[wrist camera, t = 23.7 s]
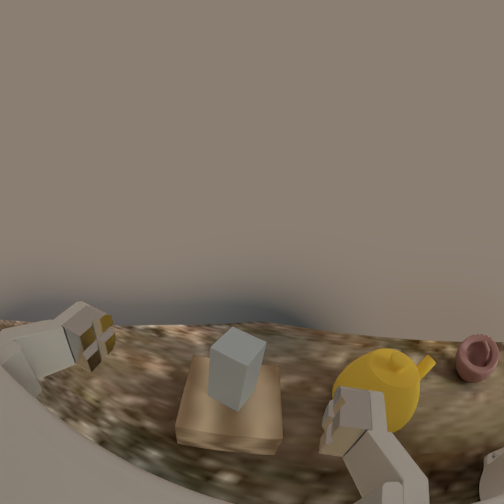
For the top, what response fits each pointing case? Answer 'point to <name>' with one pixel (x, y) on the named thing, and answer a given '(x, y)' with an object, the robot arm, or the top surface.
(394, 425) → the teapot
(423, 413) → the top surface
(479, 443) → the top surface
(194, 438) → the maple block
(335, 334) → the top surface
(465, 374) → the mortar and pestle
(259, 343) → the gray block
